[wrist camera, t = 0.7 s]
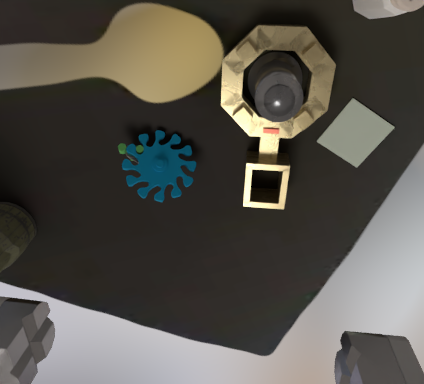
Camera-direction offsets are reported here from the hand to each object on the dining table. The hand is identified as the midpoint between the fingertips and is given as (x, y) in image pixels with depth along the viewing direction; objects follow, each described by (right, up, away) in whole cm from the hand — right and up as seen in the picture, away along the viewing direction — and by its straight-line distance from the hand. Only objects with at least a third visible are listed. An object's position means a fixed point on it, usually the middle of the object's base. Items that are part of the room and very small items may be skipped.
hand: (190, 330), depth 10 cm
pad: (+20, +12, +38) cm, 44 cm away
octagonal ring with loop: (+8, +14, +38) cm, 41 cm away
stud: (+9, +18, +35) cm, 41 cm away
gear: (-7, +10, +42) cm, 44 cm away
